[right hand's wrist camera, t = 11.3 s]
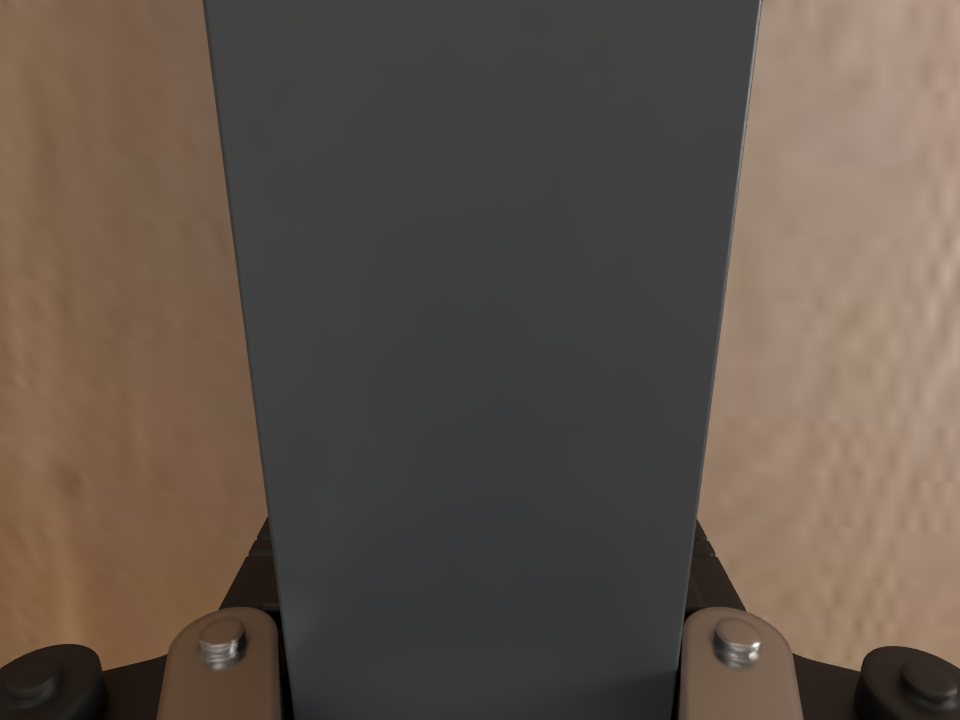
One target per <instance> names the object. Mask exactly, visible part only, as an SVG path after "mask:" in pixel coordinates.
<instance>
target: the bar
mask: <svg viewBox="0 0 960 720" xmlns="http://www.w3.org/2000/svg"><path fill="white" fill-rule="evenodd" d="M203 7H204V15H205V23H206V31H207V38H208V46H209V54H210V62H211V70H212V78H213V86H214V93H215V101H216V109H217V117H218V125H219V133H220V141H221V148H222V156H223V164H224V172H225V180H226V188H227V196H228V203H229V211H230V219H231V227H232V235H233V243H234V251H235V258H236V266H237V274H238V282H239V290H240V298H241V306H242V313H243V321H244V329H245V337H246V345H247V353H248V361H249V369H250V376H251V384H252V392H253V400H254V408H255V416H256V424H257V431H258V439H259V447H260V455H261V463H262V471H263V479H264V486H265V494H266V502H267V510H268V518H269V526H270V534H271V541H272V549H273V557H274V565H275V573H276V581H277V589H278V596H279V604H280V612H281V620H282V628H283V636H284V644H285V651H286V659H287V667H288V675H289V683H290V691H291V699H292V706H293V714H294V720H671V716H672V709H673V701H674V693H675V685H676V677H677V669H678V661H679V653H680V646H681V638H682V630H683V622H684V614H685V606H686V598H687V590H688V583H689V575H690V567H691V559H692V551H693V543H694V535H695V527H696V520H697V512H698V504H699V496H700V488H701V480H702V472H703V464H704V457H705V449H706V441H707V433H708V425H709V417H710V409H711V401H712V394H713V386H714V378H715V370H716V362H717V354H718V346H719V339H720V331H721V323H722V315H723V307H724V299H725V291H726V283H727V276H728V268H729V260H730V252H731V244H732V236H733V228H734V220H735V213H736V205H737V197H738V189H739V181H740V173H741V165H742V157H743V150H744V142H745V134H746V126H747V118H748V110H749V102H750V94H751V87H752V79H753V71H754V63H755V55H756V47H757V39H758V31H759V24H760V16H761V8H762V0H203Z"/></svg>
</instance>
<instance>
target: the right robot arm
mask: <svg viewBox="0 0 960 720" xmlns="http://www.w3.org/2000/svg"><path fill="white" fill-rule="evenodd" d="M0 720H294V714H293V706H292V699H291V691H290V683H289V675H288V667H287V659H286V651H285V644H284V636H283V628H282V620H281V612H280V604H279V596H278V589H277V581H276V573H275V565H274V557H273V549H272V541H271V534H270V526H269V518H268V517H267V519H266V521H265V523H264V524H263V526H262V528H261V530H260V532H259V534H258V536H257V540H255V542H254V543H253V545H252V547H251V549H250V551H249V556H248V557H246V559H245V560H244V562H243V564H242V566H241V568H240V570H239V572H238V574H237V576H236V578H235V579H234V581H233V583H232V585H231V587H230V589H229V591H228V593H227V595H226V597H225V598H224V600H223V602H222V604H221V606H220V608H219V610H218V611H215V612H212V613H209V614H207V615H205V616H202V617H200V618H199V619H197V620H195V621H194V622H192V623H191V624H189V625H188V626H187V627H185V628H184V629H183V630H182V631H181V632H180V633H179V634H178V635H177V636H176V638H175V639H174V640H173V642H172V644H171V646H170V648H169V651H168V654H167V655H164V656H161V657H158V658H155V659H151V660H148V661H144V662H140V663H135V664H131V665H127V666H123V667H119V668H115V669H110V670H106V671H102V667H101V663H100V660H99V657H98V655H97V654H96V653H95V652H94V651H93V650H92V649H90V648H88V647H85V646H82V645H77V644H62V645H54V646H50V647H45V648H42V649H39V650H35V651H33V652H30V653H28V654H25V655H23V656H21V657H19V658H17V659H15V660H13V661H12V662H10V663H8V664H7V665H5V666H3V667H2V668H1V669H0ZM671 720H960V669H959V668H957V667H956V666H954V665H952V664H951V663H949V662H947V661H945V660H943V659H941V658H939V657H937V656H934V655H932V654H929V653H927V652H924V651H920V650H917V649H913V648H908V647H900V646H886V647H880V648H877V649H875V650H872V651H871V652H870V653H868V654H867V655H866V657H865V658H864V660H863V663H862V667H861V671H860V672H859V671H855V670H851V669H846V668H842V667H838V666H834V665H830V664H825V663H821V662H817V661H814V660H810V659H807V658H804V657H801V656H799V655H796V654H794V653H792V651H791V648H790V646H789V644H788V642H787V640H786V639H785V638H784V636H783V635H782V634H781V633H780V632H779V631H778V630H777V629H776V628H775V627H773V626H772V625H771V624H769V623H768V622H766V621H765V620H763V619H761V618H760V617H758V616H755V615H753V614H751V613H748V612H747V611H746V609H745V608H744V606H743V604H742V602H741V600H740V598H739V596H738V594H737V593H736V591H735V589H734V587H733V585H732V583H731V581H730V580H729V578H728V576H727V574H726V572H725V570H724V568H723V566H722V565H721V563H720V561H719V559H718V557H716V556H715V552H714V550H713V548H712V546H711V544H710V542H709V541H707V537H706V535H705V533H704V531H703V529H702V527H701V525H700V524H699V522H698V520H696V527H695V535H694V543H693V551H692V559H691V567H690V575H689V583H688V590H687V598H686V606H685V614H684V622H683V630H682V638H681V646H680V653H679V661H678V669H677V677H676V685H675V693H674V701H673V709H672V716H671Z"/></svg>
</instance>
